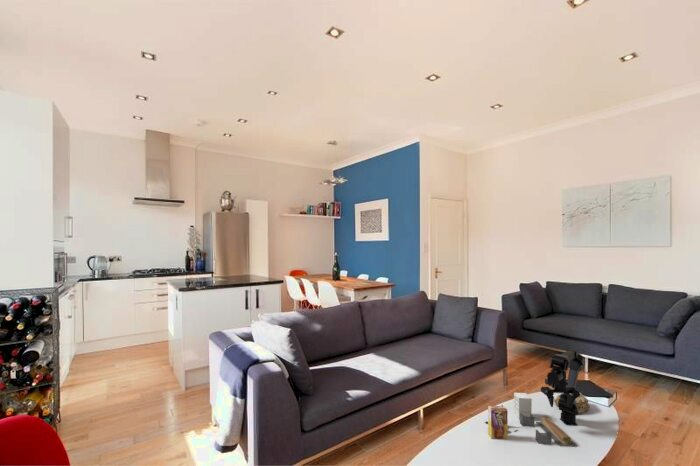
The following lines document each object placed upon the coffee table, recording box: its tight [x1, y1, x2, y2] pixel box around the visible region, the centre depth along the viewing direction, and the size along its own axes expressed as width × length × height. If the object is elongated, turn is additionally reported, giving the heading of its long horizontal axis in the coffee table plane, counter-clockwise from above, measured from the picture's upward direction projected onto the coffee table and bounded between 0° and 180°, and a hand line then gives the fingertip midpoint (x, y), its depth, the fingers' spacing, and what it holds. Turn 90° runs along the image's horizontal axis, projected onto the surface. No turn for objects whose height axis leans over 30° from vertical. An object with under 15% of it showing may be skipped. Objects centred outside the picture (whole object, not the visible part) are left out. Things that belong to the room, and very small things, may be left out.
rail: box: [541, 416, 572, 445], centre depth 178 cm, size 4×20×4 cm, turn 0°
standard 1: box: [519, 414, 536, 428], centre depth 186 cm, size 7×3×6 cm, turn 89°
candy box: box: [487, 405, 509, 440], centre depth 174 cm, size 9×4×15 cm, turn 89°
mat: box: [535, 421, 578, 448], centre depth 178 cm, size 9×22×1 cm, turn 179°
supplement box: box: [513, 392, 533, 420], centre depth 195 cm, size 7×7×13 cm
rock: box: [553, 392, 591, 415], centre depth 207 cm, size 21×14×10 cm
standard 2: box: [535, 429, 553, 445], centre depth 170 cm, size 7×3×6 cm, turn 89°
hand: (560, 407), depth 182 cm, fingers open, 9 cm apart
